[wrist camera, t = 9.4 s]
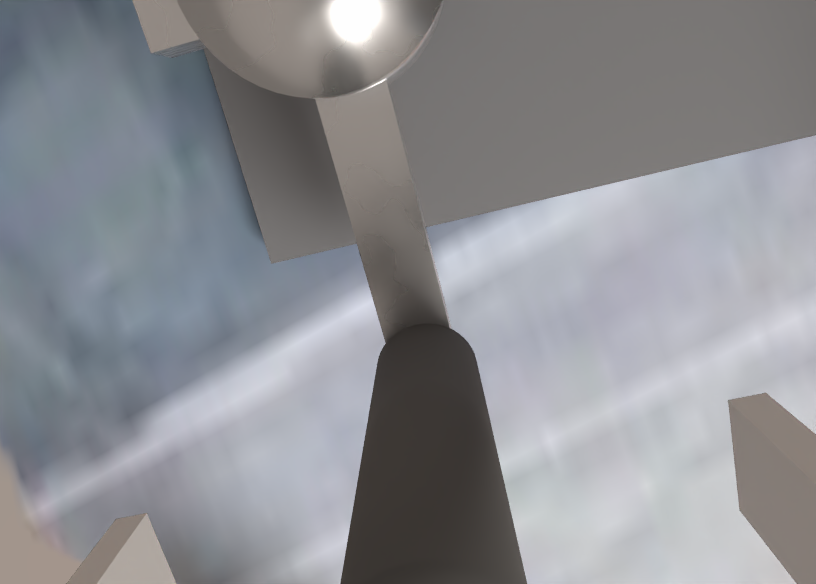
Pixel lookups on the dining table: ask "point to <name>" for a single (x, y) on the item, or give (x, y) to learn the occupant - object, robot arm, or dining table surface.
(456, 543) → the grey lever handle
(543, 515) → the dining table surface
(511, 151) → the base plate
